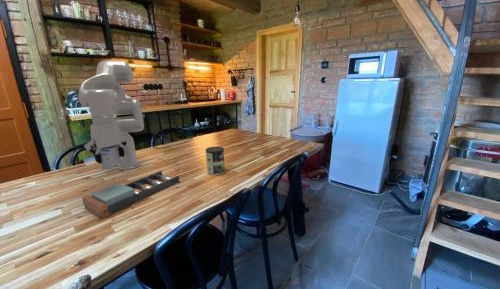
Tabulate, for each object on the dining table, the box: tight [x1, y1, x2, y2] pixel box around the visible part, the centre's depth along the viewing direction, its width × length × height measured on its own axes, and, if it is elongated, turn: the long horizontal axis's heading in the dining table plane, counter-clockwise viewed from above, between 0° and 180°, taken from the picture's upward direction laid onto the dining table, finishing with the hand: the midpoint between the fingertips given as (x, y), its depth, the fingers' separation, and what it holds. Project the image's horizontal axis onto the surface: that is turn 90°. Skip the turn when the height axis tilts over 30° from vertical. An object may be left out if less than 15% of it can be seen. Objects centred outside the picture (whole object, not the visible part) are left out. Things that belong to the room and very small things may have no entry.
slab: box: [90, 182, 136, 206], centre depth 95 cm, size 12×12×3 cm
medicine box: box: [99, 145, 121, 170], centre depth 96 cm, size 8×4×9 cm, turn 8°
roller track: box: [81, 170, 181, 219], centre depth 104 cm, size 15×38×5 cm, turn 148°
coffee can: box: [205, 146, 226, 176], centre depth 127 cm, size 10×10×14 cm
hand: (111, 159), depth 96 cm, fingers closed on medicine box, 9 cm apart
